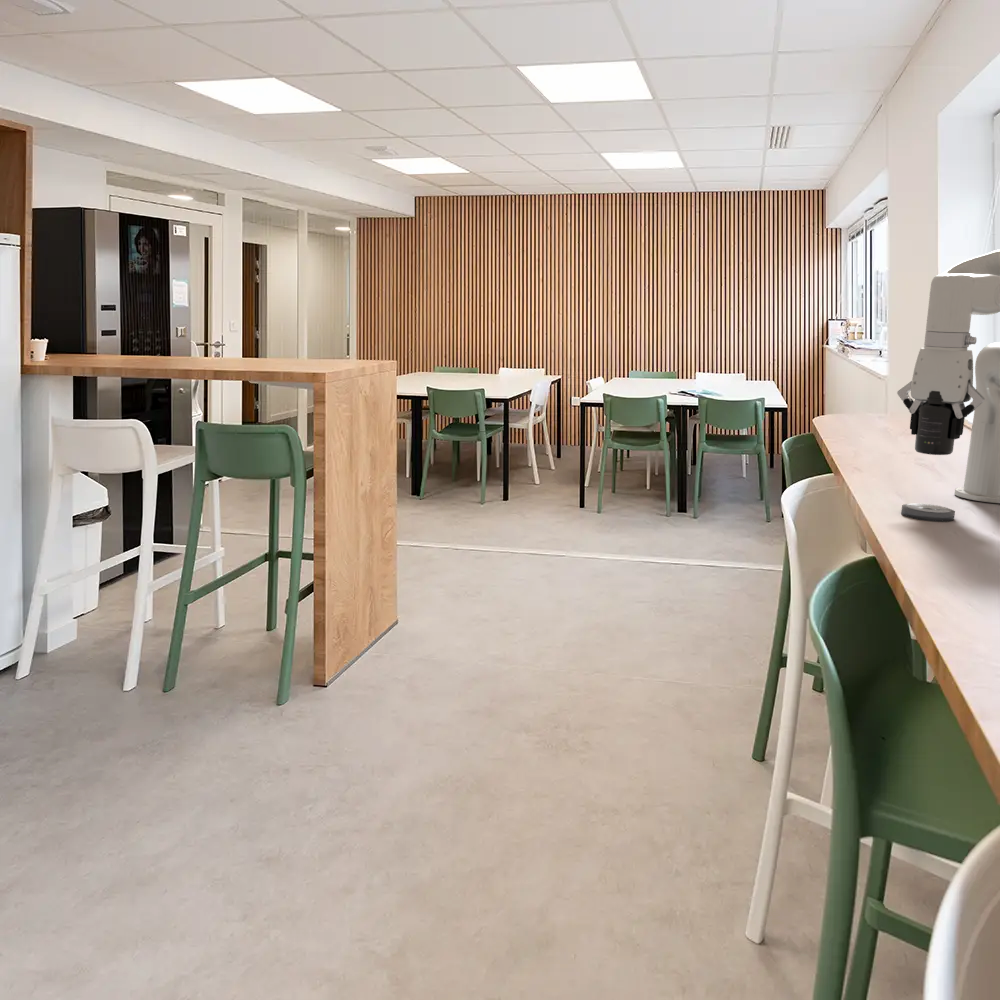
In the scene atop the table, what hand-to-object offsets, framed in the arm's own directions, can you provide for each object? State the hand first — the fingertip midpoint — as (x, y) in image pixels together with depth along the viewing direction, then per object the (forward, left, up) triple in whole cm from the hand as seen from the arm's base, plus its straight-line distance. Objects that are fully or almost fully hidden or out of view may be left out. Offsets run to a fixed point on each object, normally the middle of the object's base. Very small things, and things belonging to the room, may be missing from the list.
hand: (935, 435), depth 194 cm
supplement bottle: (0, 0, -3) cm, 3 cm away
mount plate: (+11, +4, -14) cm, 18 cm away
